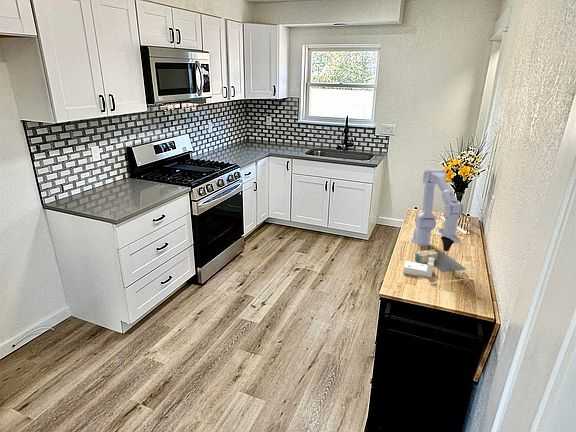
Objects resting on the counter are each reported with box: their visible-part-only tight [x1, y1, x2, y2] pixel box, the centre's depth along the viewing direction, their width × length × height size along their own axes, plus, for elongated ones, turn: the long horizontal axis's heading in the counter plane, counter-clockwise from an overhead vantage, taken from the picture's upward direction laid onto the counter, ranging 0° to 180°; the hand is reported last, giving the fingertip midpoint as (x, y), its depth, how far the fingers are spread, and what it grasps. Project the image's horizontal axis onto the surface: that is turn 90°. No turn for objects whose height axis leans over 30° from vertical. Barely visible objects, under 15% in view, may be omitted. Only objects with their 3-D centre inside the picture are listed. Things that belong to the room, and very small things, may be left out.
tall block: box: [414, 249, 439, 264], centre depth 191 cm, size 4×4×10 cm
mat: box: [433, 252, 467, 273], centre depth 191 cm, size 19×14×1 cm
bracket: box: [402, 258, 434, 278], centre depth 180 cm, size 13×7×8 cm, turn 67°
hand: (446, 250), depth 188 cm, fingers closed
